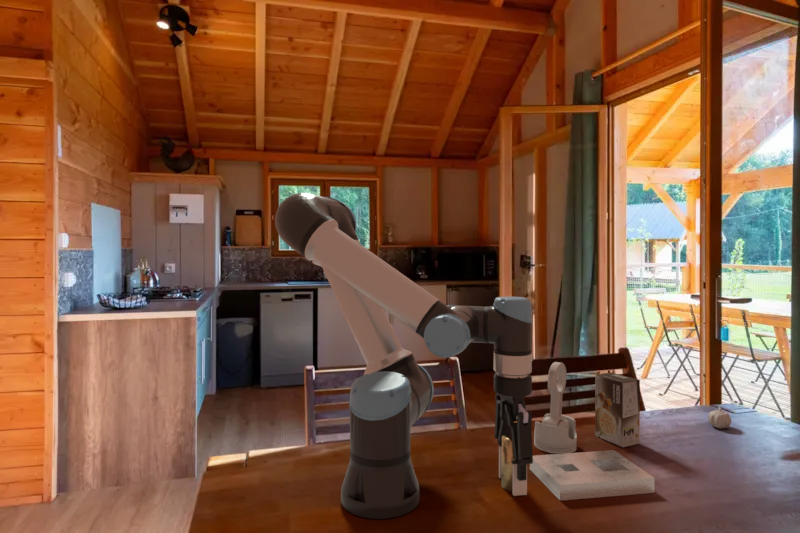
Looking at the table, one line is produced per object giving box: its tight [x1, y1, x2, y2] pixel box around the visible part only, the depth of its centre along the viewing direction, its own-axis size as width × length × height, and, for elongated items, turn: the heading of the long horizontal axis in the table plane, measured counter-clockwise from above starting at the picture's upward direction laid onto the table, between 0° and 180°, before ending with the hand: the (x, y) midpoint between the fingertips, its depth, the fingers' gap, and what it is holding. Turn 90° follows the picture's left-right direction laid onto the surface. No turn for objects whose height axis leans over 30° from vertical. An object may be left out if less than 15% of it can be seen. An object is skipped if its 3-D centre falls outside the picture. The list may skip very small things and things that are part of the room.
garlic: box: [707, 406, 732, 430], centre depth 137 cm, size 6×5×5 cm
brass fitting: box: [501, 434, 515, 492], centre depth 102 cm, size 4×4×10 cm
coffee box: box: [594, 372, 641, 448], centre depth 127 cm, size 9×6×16 cm
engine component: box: [533, 361, 578, 454], centre depth 124 cm, size 11×20×10 cm
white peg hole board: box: [529, 449, 655, 501], centre depth 105 cm, size 20×14×3 cm
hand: (512, 485), depth 102 cm, fingers open, 7 cm apart
